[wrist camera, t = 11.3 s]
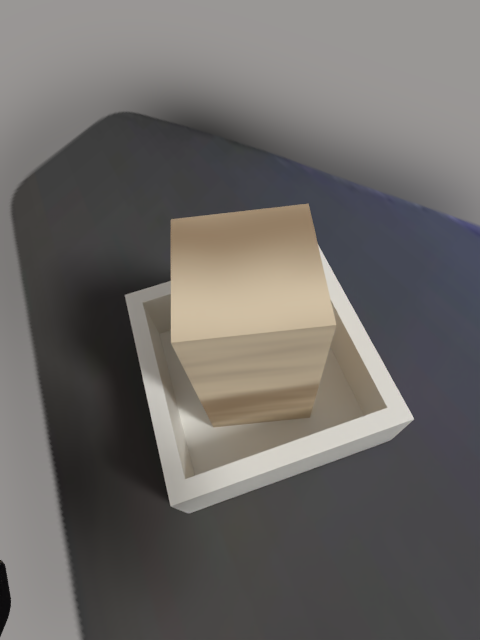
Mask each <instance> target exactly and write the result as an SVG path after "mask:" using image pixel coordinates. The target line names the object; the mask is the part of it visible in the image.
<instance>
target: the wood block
mask: <svg viewBox="0 0 480 640" xmlns="http://www.w3.org/2000/svg"><path fill="white" fill-rule="evenodd" d="M335 328H336V321H335V317H334V313H333V308H332V304H331V299H330V295H329V291H328V286H327V282H326V278H325V273H324V269H323V265H322V260H321V256H320V252H319V247H318V243H317V239H316V234H315V230H314V226H313V221H312V217H311V213H310V208H309V204H302V205H293V206H284V207H276V208H267V209H258V210H249V211H241V212H232V213H223V214H214V215H206V216H197V217H188V218H180V219H171V344H172V346H173V348H174V350H175V352H176V354H177V356H178V358H179V360H180V362H181V364H182V366H183V368H184V370H185V372H186V374H187V376H188V378H189V380H190V382H191V384H192V386H193V388H194V390H195V392H196V394H197V396H198V398H199V400H200V402H201V404H202V406H203V408H204V410H205V412H206V414H207V416H208V418H209V420H210V422H211V424H212V426H213V427H223V426H232V425H242V424H252V423H261V422H271V421H281V420H290V419H300V418H310V415H311V412H312V408H313V405H314V401H315V398H316V394H317V391H318V387H319V384H320V380H321V377H322V373H323V370H324V366H325V363H326V359H327V356H328V352H329V349H330V345H331V342H332V338H333V335H334V331H335Z"/></svg>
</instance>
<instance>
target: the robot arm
mask: <svg viewBox="0 0 480 640" xmlns="http://www.w3.org/2000/svg"><path fill="white" fill-rule="evenodd" d="M10 607H11V597H10V591H9V586H8V579H7V573H6V568H5V564H4V563H3V562H2V561H1V560H0V636H1V634H2V631H3V629H4V626H5V624H6V621H7V619H8V616H9V612H10Z"/></svg>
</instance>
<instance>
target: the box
mask: <svg viewBox="0 0 480 640" xmlns="http://www.w3.org/2000/svg"><path fill="white" fill-rule="evenodd" d="M318 247H319V246H318ZM319 252H320V256H321V260H322V265H323V269H324V273H325V278H326V282H327V286H328V291H329V295H330V299H331V304H332V308H333V313H334V317H335V321H336V328H335V331H334V335H333V338H332V342H331V345H330V349H329V352H328V356H327V359H326V363H325V366H324V370H323V373H322V377H321V380H320V384H319V387H318V391H317V394H316V398H315V401H314V405H313V408H312V412H311V415H310V418H300V419H290V420H281V421H271V422H261V423H252V424H242V425H232V426H223V427H213V426H212V424H211V422H210V420H209V418H208V416H207V414H206V412H205V410H204V408H203V406H202V404H201V402H200V400H199V398H198V396H197V394H196V392H195V390H194V388H193V386H192V384H191V382H190V380H189V378H188V376H187V374H186V372H185V370H184V368H183V366H182V364H181V362H180V360H179V358H178V356H177V354H176V352H175V350H174V348H173V346H172V344H171V281H169V282H166V283H162V284H159V285H156V286H152V287H149V288H146V289H143V290H139V291H136V292H133V293H130V294H126V295H125V299H126V303H127V308H128V313H129V317H130V322H131V326H132V331H133V336H134V340H135V345H136V349H137V354H138V359H139V363H140V368H141V373H142V377H143V382H144V386H145V391H146V396H147V400H148V405H149V409H150V414H151V419H152V423H153V428H154V433H155V437H156V442H157V446H158V451H159V456H160V460H161V465H162V469H163V474H164V479H165V483H166V488H167V493H168V497H169V502H170V506H171V507H173V508H176V509H178V510H181V511H184V512H186V513H192V512H195V511H197V510H200V509H203V508H206V507H208V506H211V505H214V504H217V503H219V502H222V501H225V500H228V499H231V498H233V497H236V496H239V495H242V494H244V493H247V492H250V491H253V490H255V489H258V488H261V487H264V486H266V485H269V484H272V483H275V482H277V481H280V480H283V479H286V478H289V477H291V476H294V475H297V474H300V473H302V472H305V471H308V470H311V469H313V468H316V467H319V466H322V465H324V464H327V463H330V462H333V461H335V460H338V459H341V458H344V457H347V456H349V455H352V454H355V453H358V452H360V451H363V450H366V449H369V448H371V447H374V446H377V445H380V444H382V443H385V442H388V441H390V440H391V439H393V438H394V437H395V436H396V435H397V434H398V433H399V432H400V431H401V430H403V429H404V428H405V427H406V426H407V425H408V424H409V423H410V422H411V421H413V420H414V418H413V416H412V414H411V412H410V411H409V409H408V407H407V405H406V403H405V402H404V400H403V398H402V396H401V394H400V392H399V391H398V389H397V387H396V385H395V383H394V382H393V380H392V378H391V376H390V374H389V373H388V371H387V369H386V367H385V365H384V364H383V362H382V360H381V358H380V356H379V354H378V353H377V351H376V349H375V347H374V345H373V344H372V342H371V340H370V338H369V336H368V335H367V333H366V331H365V329H364V327H363V325H362V324H361V322H360V320H359V318H358V316H357V315H356V313H355V311H354V309H353V307H352V306H351V304H350V302H349V300H348V298H347V296H346V295H345V293H344V291H343V289H342V287H341V286H340V284H339V282H338V280H337V278H336V277H335V275H334V273H333V271H332V269H331V267H330V266H329V264H328V262H327V260H326V258H325V257H324V255H323V253H322V251H321V249H320V248H319Z"/></svg>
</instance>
